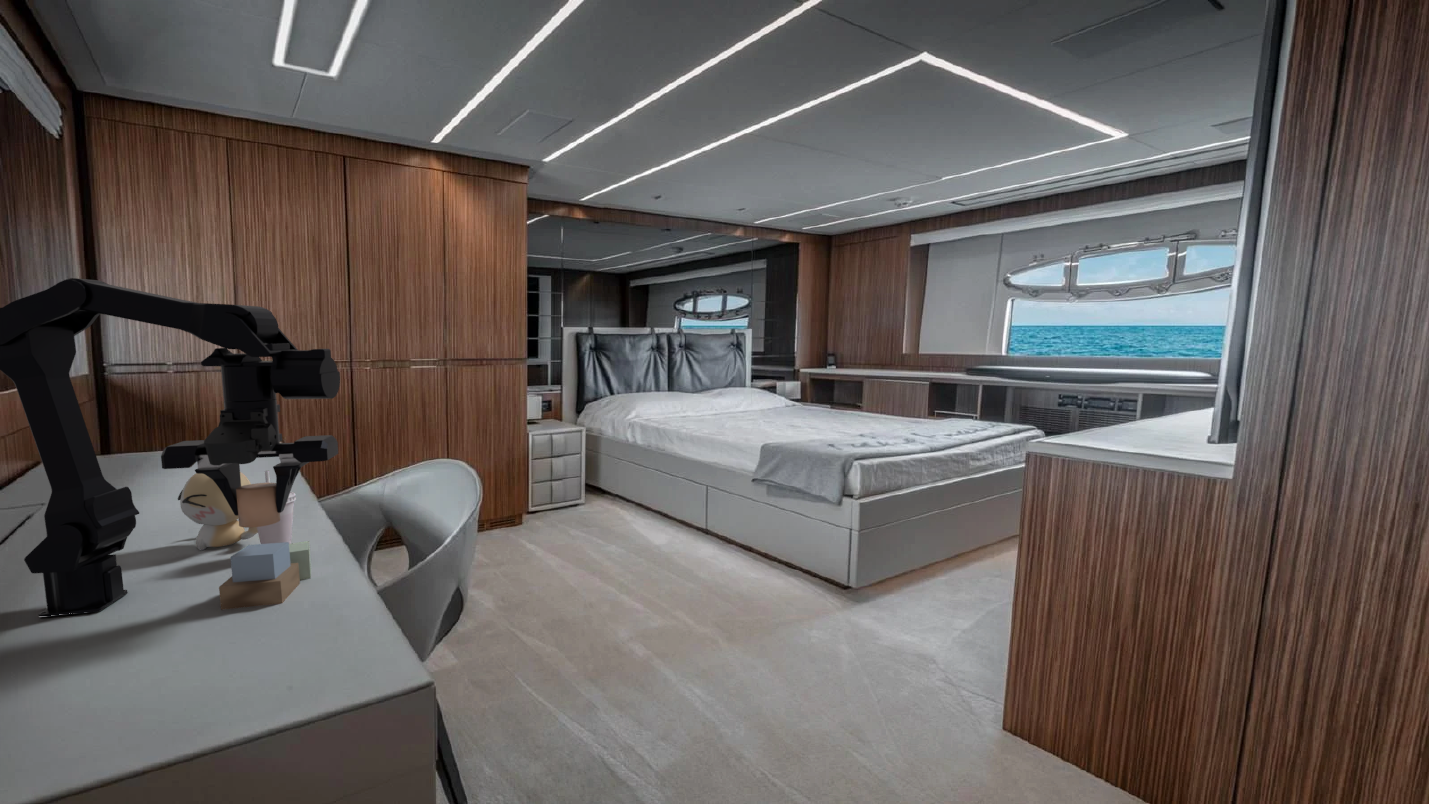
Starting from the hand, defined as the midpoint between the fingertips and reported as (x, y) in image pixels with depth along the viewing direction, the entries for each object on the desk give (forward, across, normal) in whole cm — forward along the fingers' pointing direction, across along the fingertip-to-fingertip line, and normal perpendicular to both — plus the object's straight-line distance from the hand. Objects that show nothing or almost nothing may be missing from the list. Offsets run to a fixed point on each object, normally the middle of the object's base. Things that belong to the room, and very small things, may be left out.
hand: (259, 513), depth 86 cm
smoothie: (+12, -5, +19) cm, 23 cm away
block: (+12, +1, +7) cm, 14 cm away
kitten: (+12, -16, +27) cm, 34 cm away
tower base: (+12, 0, 0) cm, 12 cm away
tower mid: (+9, 0, 0) cm, 9 cm away
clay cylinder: (+1, 0, 0) cm, 1 cm away
